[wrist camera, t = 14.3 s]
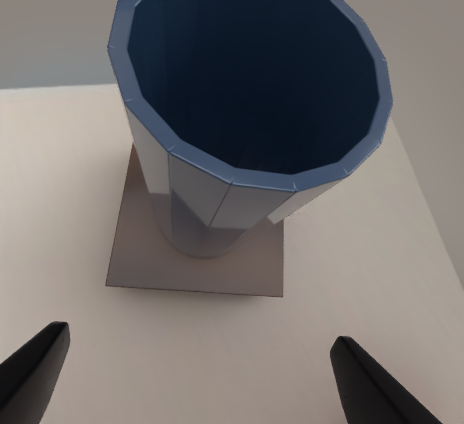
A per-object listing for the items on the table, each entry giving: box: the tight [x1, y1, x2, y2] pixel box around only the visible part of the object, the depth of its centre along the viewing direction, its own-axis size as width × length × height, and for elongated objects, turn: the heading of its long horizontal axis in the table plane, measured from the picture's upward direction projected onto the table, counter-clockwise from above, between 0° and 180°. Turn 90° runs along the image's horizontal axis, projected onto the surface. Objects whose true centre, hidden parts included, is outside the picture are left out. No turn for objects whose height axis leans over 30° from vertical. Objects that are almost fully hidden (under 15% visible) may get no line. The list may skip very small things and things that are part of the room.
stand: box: [105, 142, 284, 297], centre depth 20 cm, size 11×11×4 cm
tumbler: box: [107, 0, 393, 258], centre depth 12 cm, size 7×7×12 cm
